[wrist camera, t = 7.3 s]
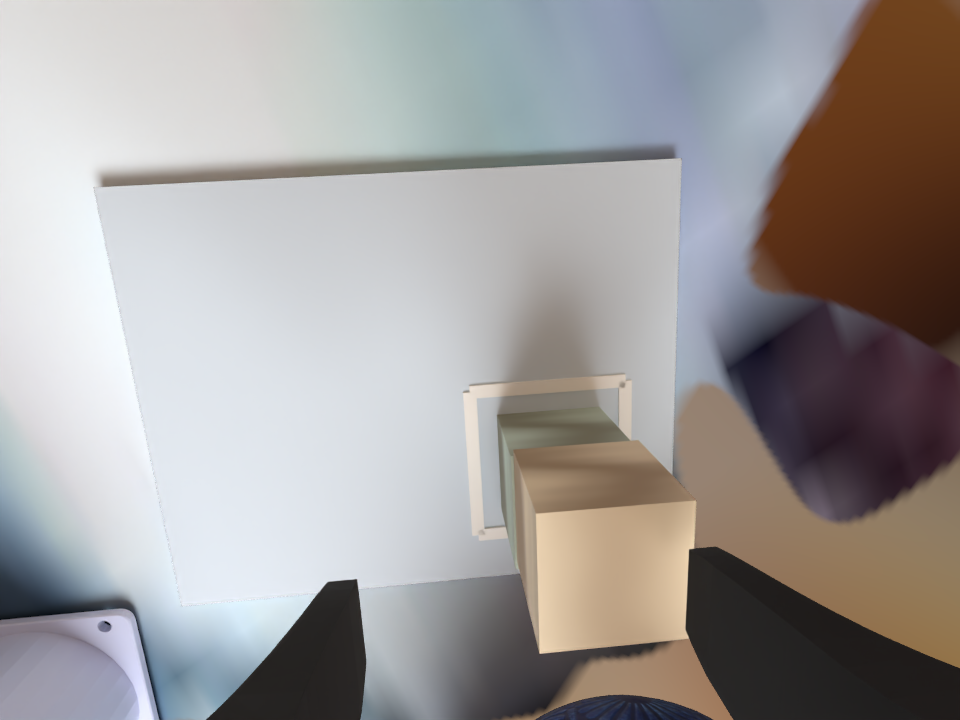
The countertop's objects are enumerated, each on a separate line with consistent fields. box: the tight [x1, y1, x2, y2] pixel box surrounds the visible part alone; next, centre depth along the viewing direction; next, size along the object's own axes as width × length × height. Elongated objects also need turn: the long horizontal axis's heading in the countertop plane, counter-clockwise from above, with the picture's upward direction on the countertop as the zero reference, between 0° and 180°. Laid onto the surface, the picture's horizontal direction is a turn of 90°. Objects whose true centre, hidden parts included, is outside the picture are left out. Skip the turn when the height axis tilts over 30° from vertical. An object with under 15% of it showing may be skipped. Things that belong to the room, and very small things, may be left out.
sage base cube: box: [497, 407, 630, 569], centre depth 20 cm, size 4×4×4 cm
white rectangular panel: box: [93, 158, 682, 606], centre depth 21 cm, size 20×16×1 cm
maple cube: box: [513, 440, 696, 654], centre depth 16 cm, size 4×4×4 cm
